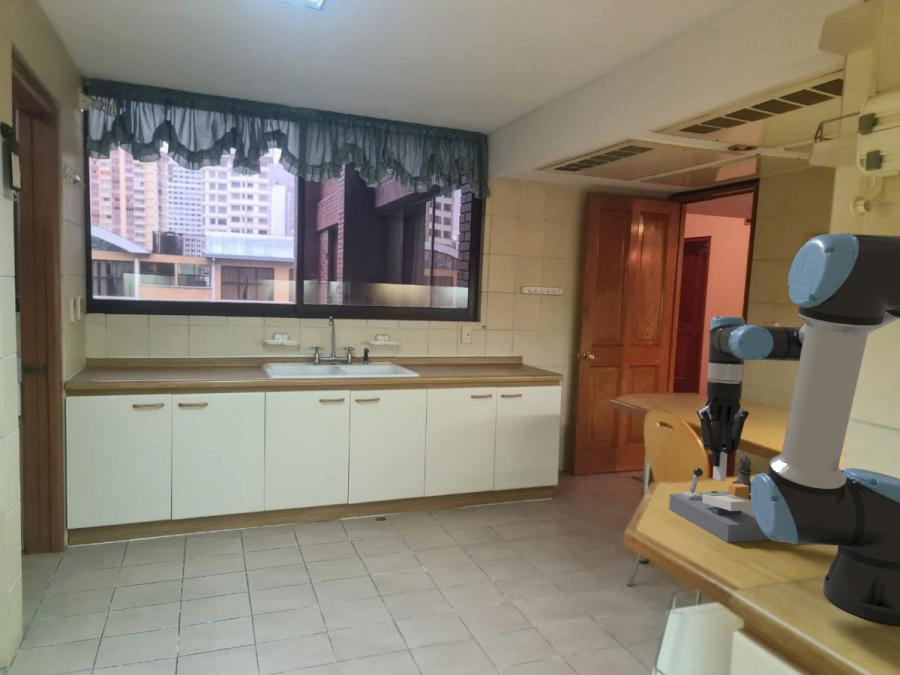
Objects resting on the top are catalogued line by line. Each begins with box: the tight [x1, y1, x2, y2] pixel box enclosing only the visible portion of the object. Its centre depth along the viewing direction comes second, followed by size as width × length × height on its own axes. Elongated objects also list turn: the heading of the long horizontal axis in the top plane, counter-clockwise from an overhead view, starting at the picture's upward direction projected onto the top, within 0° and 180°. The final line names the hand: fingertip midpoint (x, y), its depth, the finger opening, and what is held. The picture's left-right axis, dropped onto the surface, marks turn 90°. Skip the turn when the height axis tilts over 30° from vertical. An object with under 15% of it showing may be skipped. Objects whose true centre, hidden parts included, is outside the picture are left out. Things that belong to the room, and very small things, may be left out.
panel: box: [668, 490, 773, 543], centre depth 146 cm, size 22×18×6 cm
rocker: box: [702, 493, 753, 511], centre depth 141 cm, size 10×6×2 cm, turn 13°
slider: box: [727, 484, 750, 500], centre depth 148 cm, size 2×4×4 cm, turn 103°
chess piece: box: [732, 454, 753, 500], centre depth 167 cm, size 6×6×12 cm
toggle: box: [689, 467, 704, 493], centre depth 151 cm, size 2×2×7 cm
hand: (719, 479), depth 143 cm, fingers closed
